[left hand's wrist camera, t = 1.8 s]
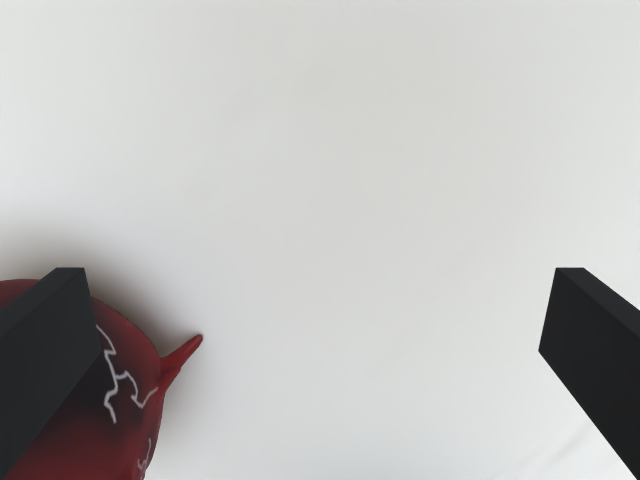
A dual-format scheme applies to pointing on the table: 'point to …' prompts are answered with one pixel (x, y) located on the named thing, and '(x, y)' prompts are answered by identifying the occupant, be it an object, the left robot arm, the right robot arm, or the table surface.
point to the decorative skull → (103, 405)
